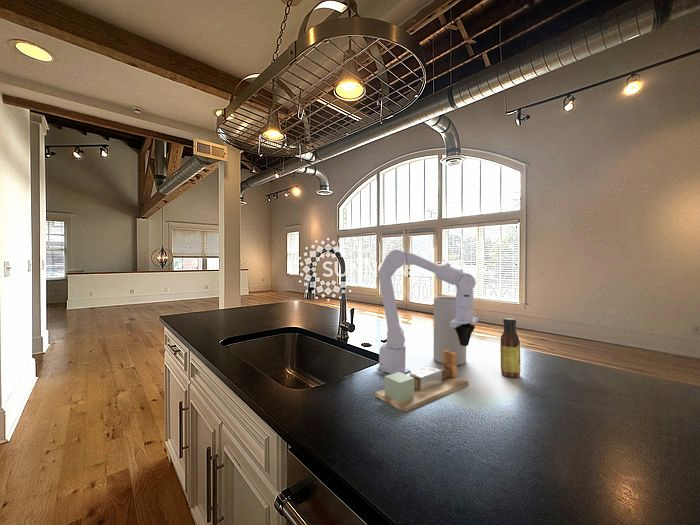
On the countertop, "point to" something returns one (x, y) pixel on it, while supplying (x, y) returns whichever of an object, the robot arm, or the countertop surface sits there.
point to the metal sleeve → (428, 378)
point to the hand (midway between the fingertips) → (464, 345)
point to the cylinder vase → (446, 330)
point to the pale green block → (399, 386)
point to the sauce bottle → (510, 349)
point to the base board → (425, 394)
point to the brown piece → (445, 366)
